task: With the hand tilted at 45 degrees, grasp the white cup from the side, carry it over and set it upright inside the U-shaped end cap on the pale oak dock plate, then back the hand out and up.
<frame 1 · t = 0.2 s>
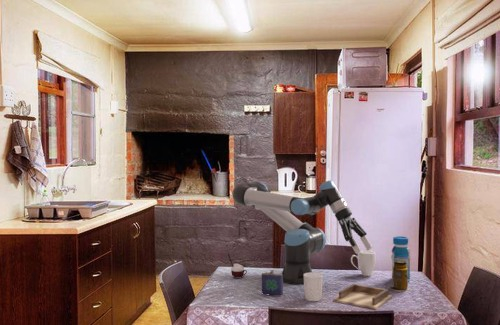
hand: (364, 250, 209), 15 cm above the table, tool tilted 35°, fingers open, 13 cm apart
white cup: (313, 299, 188), on the table
mug: (363, 275, 224), on the table
condiment: (398, 289, 201), on the table
beverage bottle: (401, 280, 215), on the table
dock: (363, 299, 186), on the table
cocoa: (237, 277, 223), on the table
flask: (272, 295, 194), on the table
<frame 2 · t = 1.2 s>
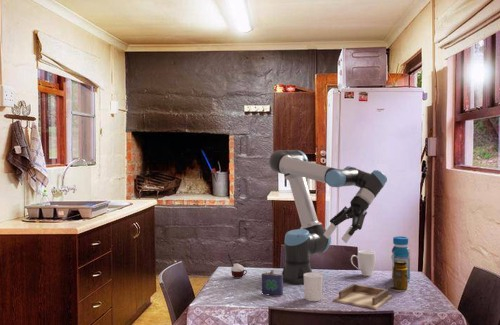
hand: (334, 238, 192), 24 cm above the table, tool tilted 45°, fingers open, 13 cm apart
nothing on the table moved.
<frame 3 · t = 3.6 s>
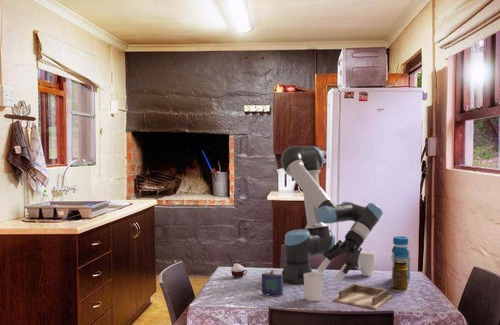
hand: (328, 275, 188), 10 cm above the table, tool tilted 45°, fingers open, 13 cm apart
nothing on the table moved.
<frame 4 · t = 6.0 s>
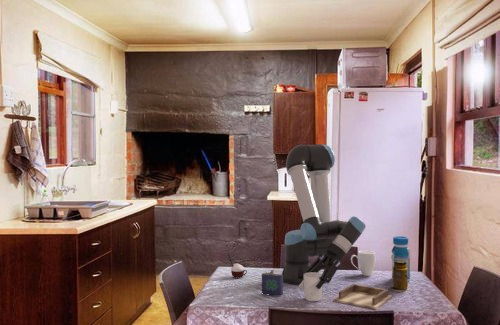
hand: (306, 291, 186), 4 cm above the table, tool tilted 45°, fingers closed on white cup, 8 cm apart
white cup: (313, 299, 188), on the table, touching gripper
everything else where it was.
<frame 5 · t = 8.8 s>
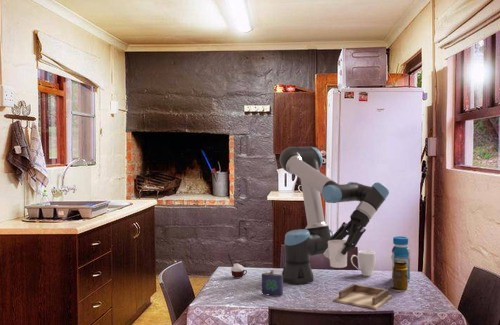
hand: (330, 258, 184), 18 cm above the table, tool tilted 45°, fingers closed on white cup, 8 cm apart
white cup: (338, 266, 185), point 14 cm above the table, touching gripper
everything else where it was.
when the fingers open (6 cm above the table, at t = 11.5 s): white cup drops 1 cm, resting on dock.
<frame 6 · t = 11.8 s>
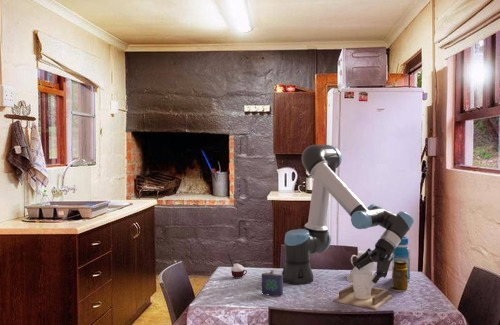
hand: (357, 284, 185), 6 cm above the table, tool tilted 45°, fingers open, 12 cm apart
white cup: (362, 297, 187), point 1 cm above the table, touching dock
everything else where it was.
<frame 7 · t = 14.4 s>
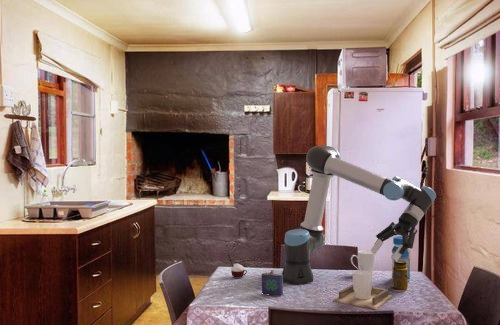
hand: (383, 255, 191), 17 cm above the table, tool tilted 45°, fingers open, 13 cm apart
nothing on the table moved.
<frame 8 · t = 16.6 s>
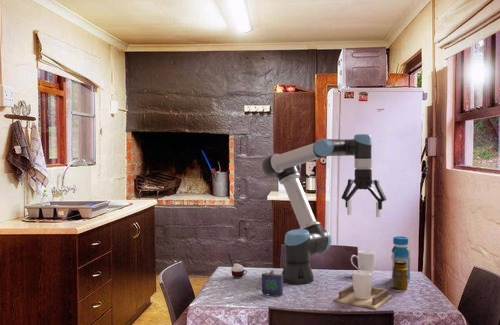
hand: (363, 215, 205), 32 cm above the table, tool pointing down, fingers open, 13 cm apart
nothing on the table moved.
at the end: white cup 0.5 cm off-centre on the dock, point 0.6 cm above the dock's base; white cup tilted 0°; the gripper is holding nothing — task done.
